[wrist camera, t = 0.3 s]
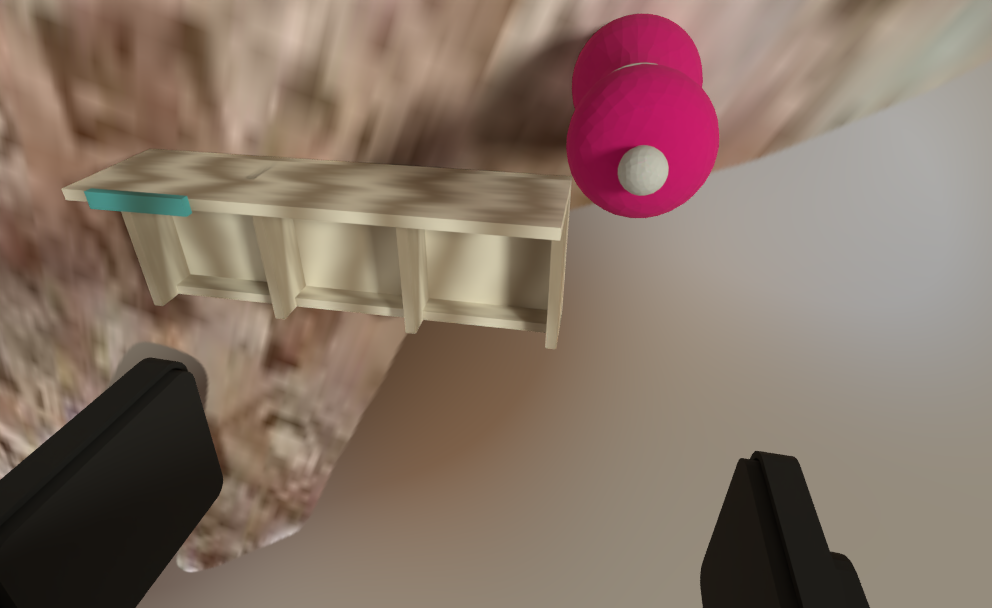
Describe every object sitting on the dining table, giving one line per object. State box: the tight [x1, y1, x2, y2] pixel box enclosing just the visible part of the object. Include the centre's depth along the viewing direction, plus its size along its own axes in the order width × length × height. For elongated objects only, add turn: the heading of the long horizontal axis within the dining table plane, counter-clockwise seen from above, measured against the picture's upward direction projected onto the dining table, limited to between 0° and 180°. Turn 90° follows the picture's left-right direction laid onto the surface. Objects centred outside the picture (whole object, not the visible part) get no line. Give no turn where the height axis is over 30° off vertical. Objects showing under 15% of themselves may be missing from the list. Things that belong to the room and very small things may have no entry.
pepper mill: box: [566, 14, 719, 218], centre depth 29 cm, size 7×7×20 cm
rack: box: [62, 149, 572, 349], centre depth 43 cm, size 33×12×9 cm, turn 90°
